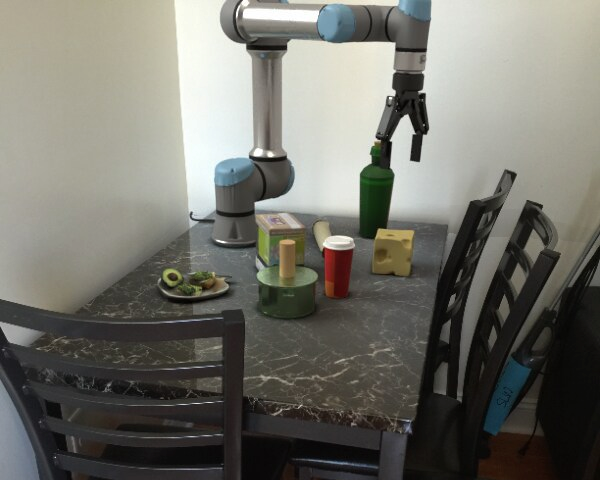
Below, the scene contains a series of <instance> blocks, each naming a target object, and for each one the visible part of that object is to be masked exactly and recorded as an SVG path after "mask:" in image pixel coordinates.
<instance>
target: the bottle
mask: <svg viewBox="0 0 600 480" xmlns="http://www.w3.org/2000/svg"><path fill="white" fill-rule="evenodd" d="M373 144H374V145H371V147H370V152H369V156H371V158H370V159H371V163H369V164H367V165H365V166H364V167H363V169H362V170H361V171H360V172H359V204H358V205H359V206H358V207H359V208H358V212H359V213H358V216H359V217H358V223H359V224H358V234H359V235H360V236H361V237H364V238H367V239H375V238H376V235H377V231H378V229H388V225H389V217H390V211H391V203H392V197H393V191H394V190H393V189H394V183H395V176H396V175H395V172H394V169H392V168H391V167H390V170H386V169H381V168H379V166H380V149H381V148H380V147H381V140H376V141H374V142H373Z"/></svg>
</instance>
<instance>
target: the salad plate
mask: <svg viewBox="0 0 600 480" xmlns="http://www.w3.org/2000/svg"><path fill="white" fill-rule="evenodd" d="M232 278H233V274H218V273H217V274H216V272H215V271H212V272H211V271H209V270H207V271H205V270H202V271H201V270H196V271H195V272H189V273H182V272H180V271H179V270H177V269H176V268H173V267H168V268H165V269H164V270H163V271H162V273H161V274H160V278H159V279H158V280H157V283H156V284H157V287H158V290H159V292H160V293H161V294H162V296H163V297H164V298H165V299H166V300H168V301H170V302H173V303H174V302H175V303H191V302H192V303H193V302H196V301H197V302H198V301H203V300H208V299H212V298H215V297H219V296H221V295H223V294H224V293H226V292H227V291H228V290H229V289H230V285H229V284H228V283H227V282H225V281H226V280H229V279H232Z"/></svg>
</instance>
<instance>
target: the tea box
mask: <svg viewBox="0 0 600 480" xmlns="http://www.w3.org/2000/svg"><path fill="white" fill-rule="evenodd" d="M255 217H256V245H255V267H256V269H257V270H258V272H259V271H260V270H262V269H264V268H267V267H272V266H278V265H280V241H281V240H293V241H295V266H301V267H305V258H306V257H305V254H306V226H305V225H304V224H303V223H302V222H300V221H299V220H298V219H297V218H296V217H295V216H294V215H293V214H292V213H291V212H278V213H260V214H255Z"/></svg>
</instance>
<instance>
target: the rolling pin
mask: <svg viewBox="0 0 600 480" xmlns="http://www.w3.org/2000/svg"><path fill="white" fill-rule="evenodd" d="M311 228H312V233H313V234H314V235H313V236H314V238H315V241H316V244H317V246H318V247H319V251H320V252H321V257H322V258H323V259H324V260H325V246H324V245H323V243H324V242H325V240H326V238H328V237H330V236H332V233H331V230H330V223H329V222H328V221H324V220H316V221H315V222H314V223H313V224H312V227H311Z"/></svg>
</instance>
